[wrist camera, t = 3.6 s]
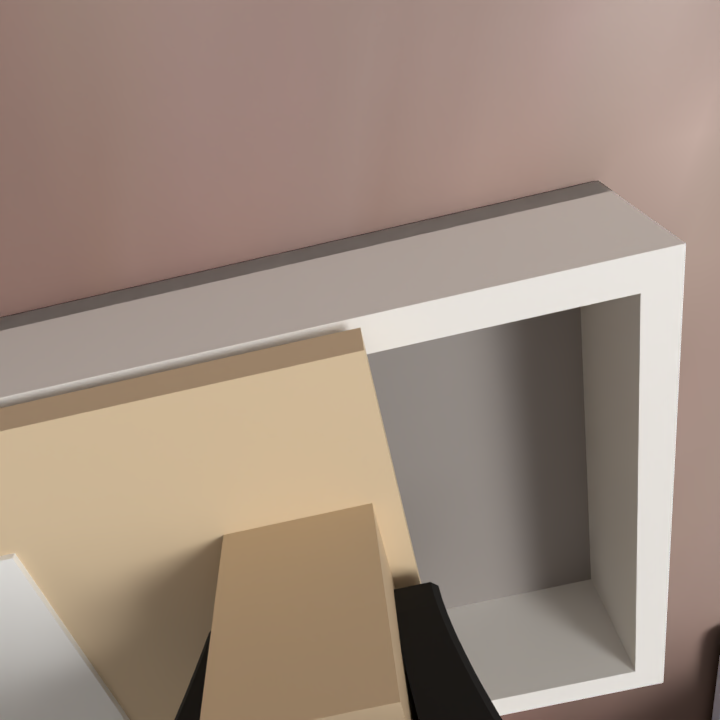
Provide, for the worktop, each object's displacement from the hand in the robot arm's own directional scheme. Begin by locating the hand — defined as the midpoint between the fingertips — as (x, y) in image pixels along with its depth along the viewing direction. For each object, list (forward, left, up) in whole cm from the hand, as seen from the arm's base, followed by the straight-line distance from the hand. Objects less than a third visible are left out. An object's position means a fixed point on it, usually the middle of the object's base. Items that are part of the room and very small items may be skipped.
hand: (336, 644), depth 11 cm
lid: (+5, 0, -1) cm, 5 cm away
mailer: (0, 0, -4) cm, 4 cm away
